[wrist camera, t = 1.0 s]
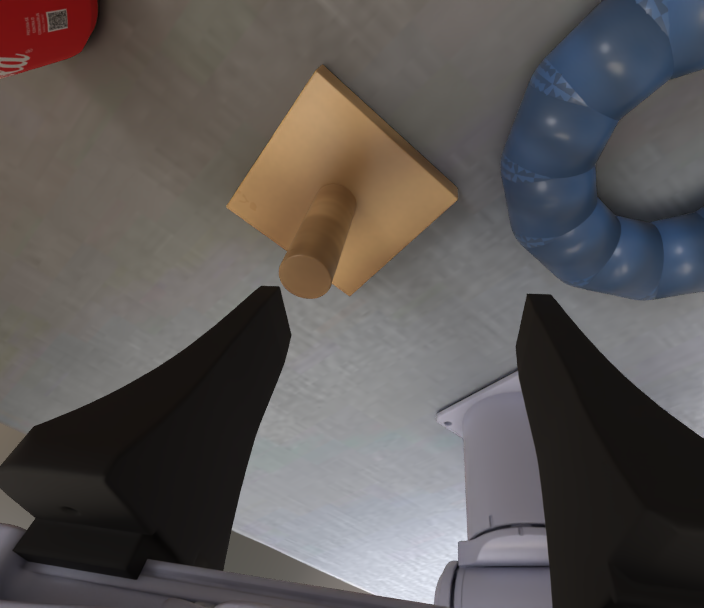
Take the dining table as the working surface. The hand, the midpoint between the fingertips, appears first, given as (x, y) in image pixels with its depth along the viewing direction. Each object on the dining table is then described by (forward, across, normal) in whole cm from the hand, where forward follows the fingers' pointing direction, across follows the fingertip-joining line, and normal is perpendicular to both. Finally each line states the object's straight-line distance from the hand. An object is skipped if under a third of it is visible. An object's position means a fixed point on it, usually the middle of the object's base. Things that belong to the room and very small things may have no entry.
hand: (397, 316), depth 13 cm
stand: (+10, +4, 0) cm, 10 cm away
